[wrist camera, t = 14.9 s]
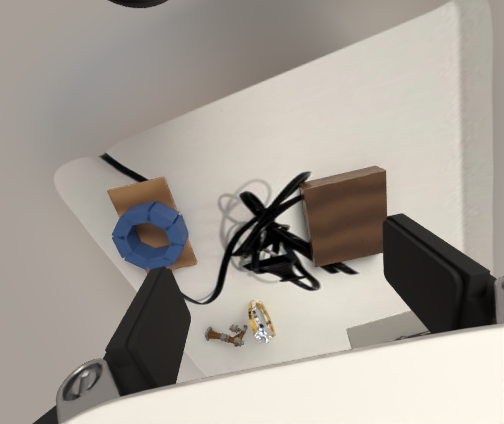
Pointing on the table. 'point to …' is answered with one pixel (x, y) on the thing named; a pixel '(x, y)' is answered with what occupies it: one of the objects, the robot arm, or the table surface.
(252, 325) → the ring
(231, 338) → the wooden post with brackets
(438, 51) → the table surface
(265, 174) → the table surface
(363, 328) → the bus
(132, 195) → the mat
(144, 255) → the ring
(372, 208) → the platform
